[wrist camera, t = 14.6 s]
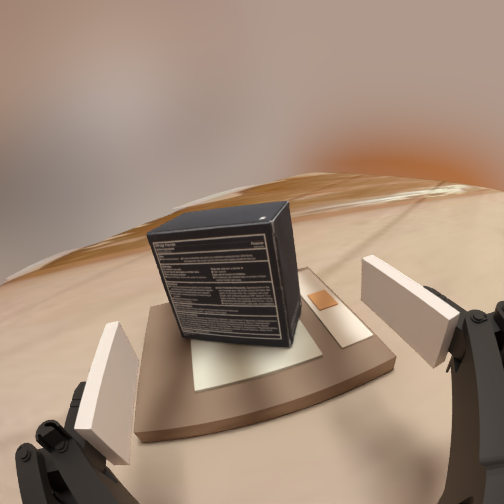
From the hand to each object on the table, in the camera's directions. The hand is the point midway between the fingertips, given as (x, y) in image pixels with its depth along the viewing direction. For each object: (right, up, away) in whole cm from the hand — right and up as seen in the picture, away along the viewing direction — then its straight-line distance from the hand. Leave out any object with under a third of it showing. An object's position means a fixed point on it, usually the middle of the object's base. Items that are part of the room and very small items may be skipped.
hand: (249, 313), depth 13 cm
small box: (-1, -4, +12) cm, 12 cm away
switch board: (0, -6, +11) cm, 13 cm away
